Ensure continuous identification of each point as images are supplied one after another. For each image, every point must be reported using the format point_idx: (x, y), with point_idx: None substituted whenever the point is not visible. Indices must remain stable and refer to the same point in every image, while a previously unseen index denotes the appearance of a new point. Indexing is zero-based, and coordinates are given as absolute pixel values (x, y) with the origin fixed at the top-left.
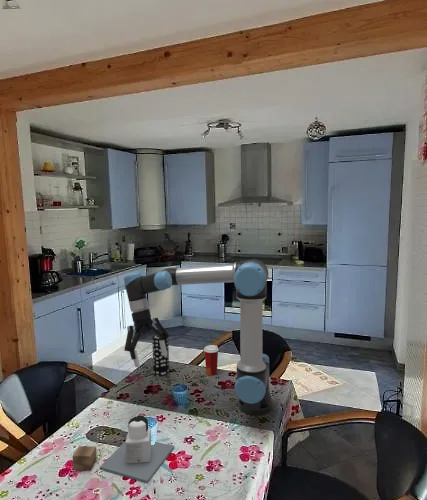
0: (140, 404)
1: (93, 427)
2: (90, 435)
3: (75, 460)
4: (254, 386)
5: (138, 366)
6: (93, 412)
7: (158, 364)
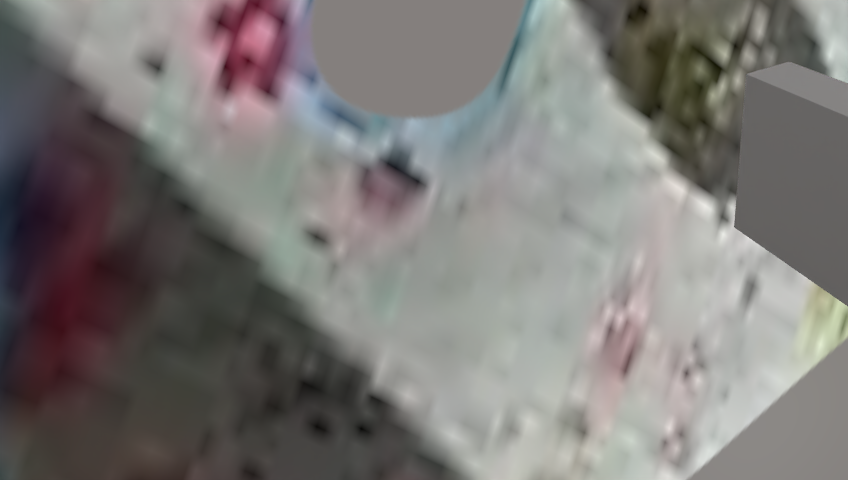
0: (341, 357)
1: None
2: None
3: None
4: None
5: (798, 68)
6: (692, 403)
7: None
